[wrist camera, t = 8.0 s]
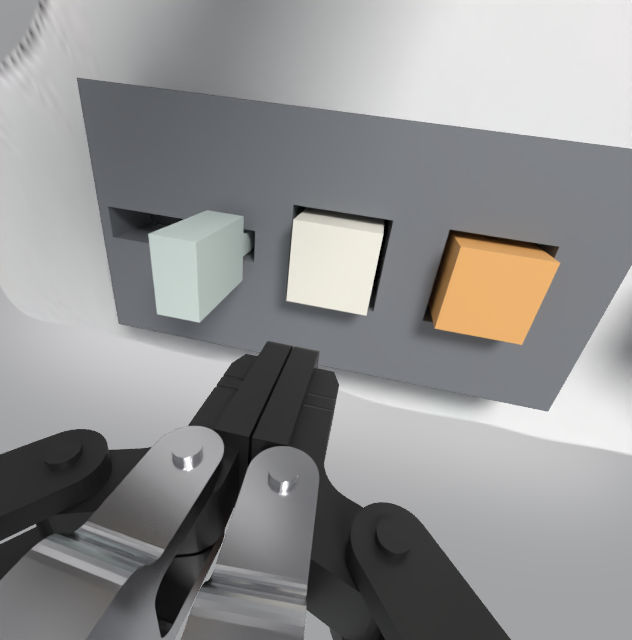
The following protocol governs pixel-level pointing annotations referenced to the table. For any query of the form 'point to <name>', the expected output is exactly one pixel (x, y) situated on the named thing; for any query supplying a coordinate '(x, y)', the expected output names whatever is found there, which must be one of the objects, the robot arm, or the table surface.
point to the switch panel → (366, 200)
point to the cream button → (334, 259)
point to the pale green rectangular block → (198, 263)
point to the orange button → (490, 286)
